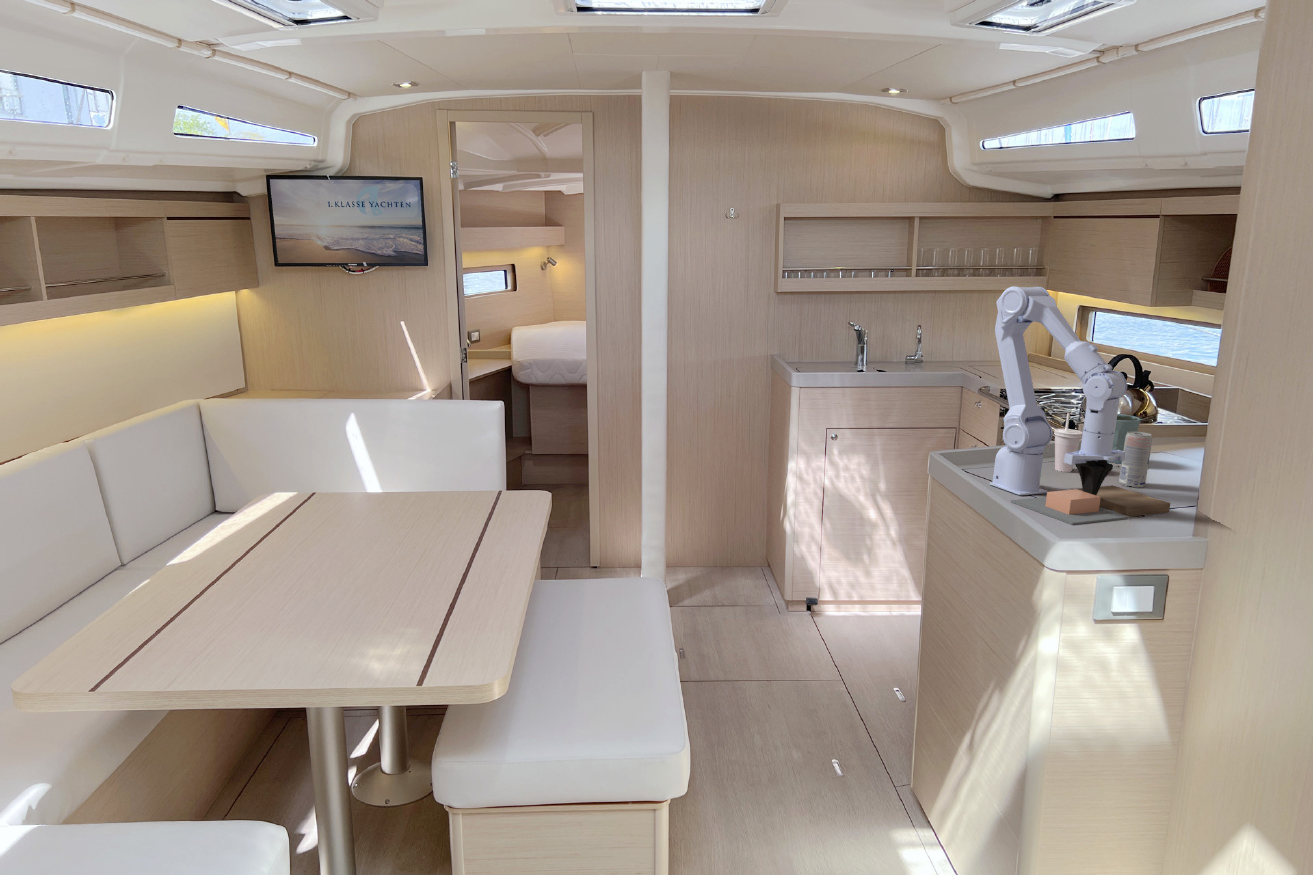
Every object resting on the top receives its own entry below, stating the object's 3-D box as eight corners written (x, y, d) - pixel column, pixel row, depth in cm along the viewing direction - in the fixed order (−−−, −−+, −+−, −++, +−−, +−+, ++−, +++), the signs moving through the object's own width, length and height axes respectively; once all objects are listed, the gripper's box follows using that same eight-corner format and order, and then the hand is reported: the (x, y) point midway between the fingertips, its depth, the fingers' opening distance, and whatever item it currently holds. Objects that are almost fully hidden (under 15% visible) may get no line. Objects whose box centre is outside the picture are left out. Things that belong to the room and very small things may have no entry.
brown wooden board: (1070, 498, 189) (1071, 489, 189) (1111, 494, 194) (1112, 485, 193) (1126, 517, 176) (1127, 507, 176) (1169, 512, 181) (1170, 502, 180)
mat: (1010, 502, 184) (1011, 500, 184) (1065, 496, 190) (1065, 495, 190) (1072, 524, 170) (1072, 522, 170) (1129, 518, 175) (1129, 516, 175)
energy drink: (1142, 483, 204) (1150, 432, 202) (1146, 489, 199) (1155, 437, 197) (1116, 480, 206) (1124, 430, 203) (1120, 486, 201) (1128, 434, 198)
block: (1045, 506, 181) (1047, 491, 180) (1074, 503, 184) (1076, 489, 183) (1068, 514, 175) (1070, 499, 175) (1098, 511, 178) (1100, 496, 178)
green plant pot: (1142, 466, 222) (1149, 419, 219) (1115, 469, 217) (1122, 421, 215) (1106, 457, 231) (1113, 411, 228) (1079, 460, 226) (1086, 413, 224)
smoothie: (1046, 466, 218) (1053, 410, 215) (1074, 468, 217) (1082, 412, 214) (1052, 472, 212) (1060, 414, 209) (1080, 474, 210) (1089, 416, 208)
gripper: (1088, 437, 172) (1078, 504, 175) (1141, 433, 177) (1131, 499, 180) (1059, 429, 178) (1050, 494, 181) (1112, 426, 184) (1103, 490, 187)
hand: (1089, 496), depth 181 cm, fingers closed
